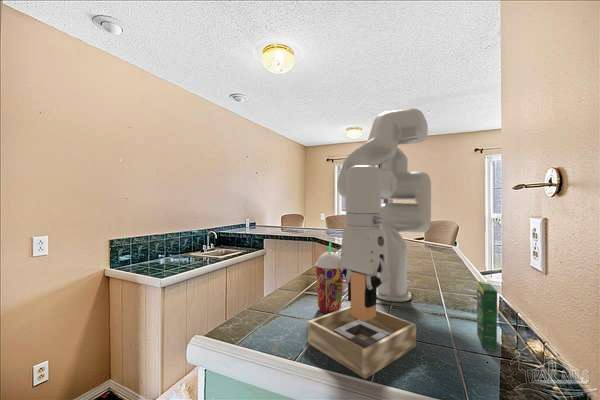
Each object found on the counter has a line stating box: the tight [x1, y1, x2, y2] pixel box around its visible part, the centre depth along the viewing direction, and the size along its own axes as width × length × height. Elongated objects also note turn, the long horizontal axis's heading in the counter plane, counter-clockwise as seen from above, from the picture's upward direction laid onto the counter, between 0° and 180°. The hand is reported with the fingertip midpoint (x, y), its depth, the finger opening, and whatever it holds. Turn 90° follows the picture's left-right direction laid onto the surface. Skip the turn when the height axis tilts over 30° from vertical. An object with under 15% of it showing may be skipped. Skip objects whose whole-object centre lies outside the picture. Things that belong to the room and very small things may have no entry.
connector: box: [350, 271, 377, 321], centre depth 62 cm, size 4×4×11 cm
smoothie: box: [315, 242, 344, 315], centre depth 81 cm, size 8×8×20 cm
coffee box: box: [476, 281, 498, 352], centre depth 64 cm, size 8×3×13 cm, turn 155°
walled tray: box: [307, 305, 417, 380], centre depth 62 cm, size 18×16×5 cm
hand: (361, 302), depth 62 cm, fingers closed on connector, 4 cm apart
